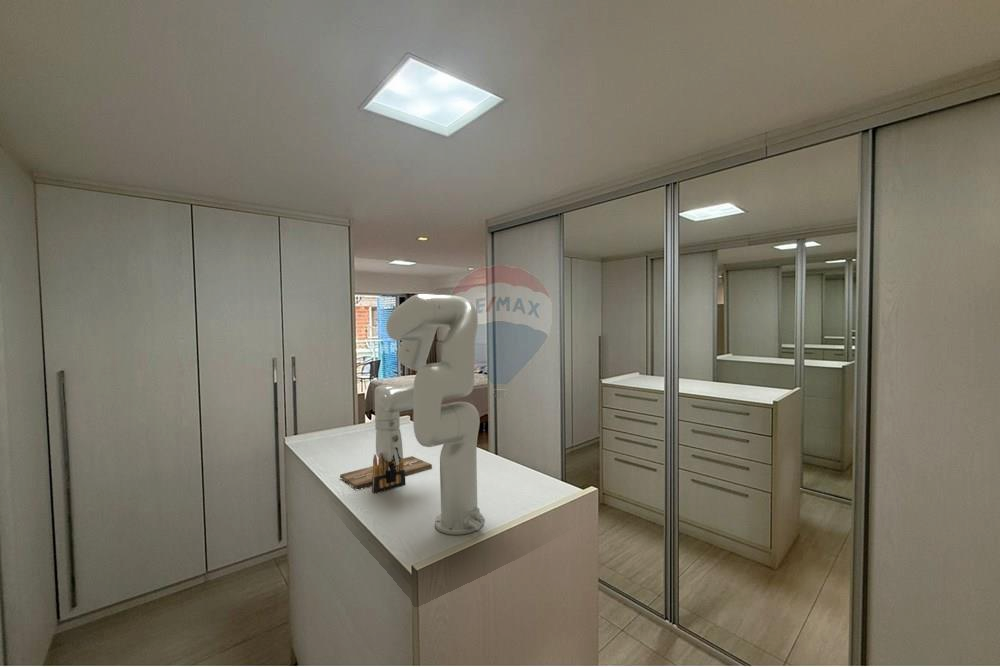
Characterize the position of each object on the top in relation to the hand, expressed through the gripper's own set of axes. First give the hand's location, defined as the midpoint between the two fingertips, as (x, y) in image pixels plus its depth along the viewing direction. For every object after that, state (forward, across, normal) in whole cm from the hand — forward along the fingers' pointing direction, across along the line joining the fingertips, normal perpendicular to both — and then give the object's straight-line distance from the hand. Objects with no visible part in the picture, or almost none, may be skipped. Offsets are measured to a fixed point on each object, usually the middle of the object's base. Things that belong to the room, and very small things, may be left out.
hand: (389, 480), depth 131 cm
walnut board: (+3, +13, -6) cm, 15 cm away
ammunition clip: (+3, 0, 0) cm, 3 cm away
